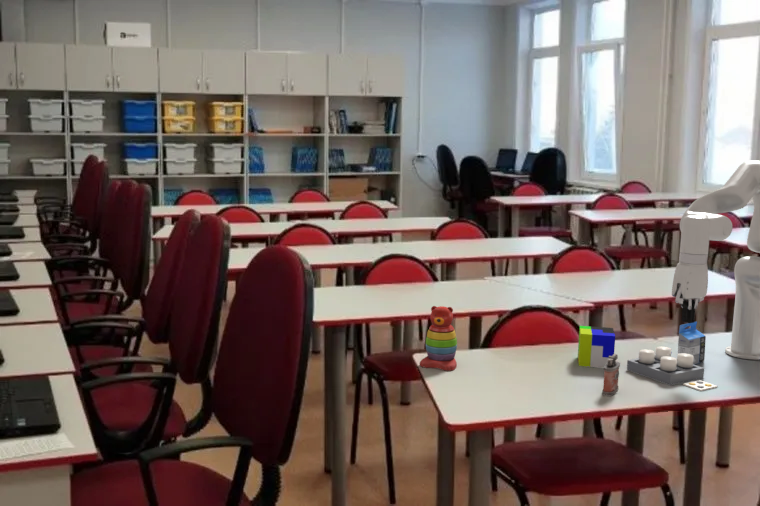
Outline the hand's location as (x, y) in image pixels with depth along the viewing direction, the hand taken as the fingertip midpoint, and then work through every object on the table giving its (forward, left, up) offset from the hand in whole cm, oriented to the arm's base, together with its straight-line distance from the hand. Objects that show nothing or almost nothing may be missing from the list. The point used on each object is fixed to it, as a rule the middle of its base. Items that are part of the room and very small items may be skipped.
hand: (687, 321), depth 237 cm
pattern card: (+3, +8, -16) cm, 19 cm away
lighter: (+29, 0, -17) cm, 34 cm away
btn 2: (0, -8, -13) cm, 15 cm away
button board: (+3, -4, -16) cm, 17 cm away
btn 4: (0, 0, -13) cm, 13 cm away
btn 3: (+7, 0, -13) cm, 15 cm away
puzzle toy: (+13, -22, -17) cm, 31 cm away
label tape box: (-13, -8, -17) cm, 22 cm away
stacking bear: (+57, -42, -17) cm, 73 cm away
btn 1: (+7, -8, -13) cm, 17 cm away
